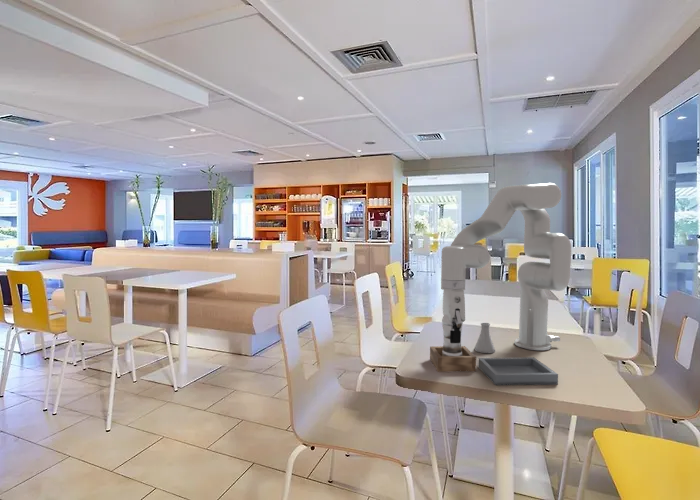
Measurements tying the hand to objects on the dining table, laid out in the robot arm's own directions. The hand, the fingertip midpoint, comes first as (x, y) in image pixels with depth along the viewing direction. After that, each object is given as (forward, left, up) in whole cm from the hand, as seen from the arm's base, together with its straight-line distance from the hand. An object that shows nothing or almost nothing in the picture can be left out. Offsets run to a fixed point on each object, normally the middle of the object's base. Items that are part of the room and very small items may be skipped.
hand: (452, 339), depth 127 cm
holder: (0, 0, -9) cm, 9 cm away
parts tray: (-17, +9, -9) cm, 21 cm away
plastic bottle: (0, 0, -9) cm, 9 cm away
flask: (-16, -14, -9) cm, 23 cm away
